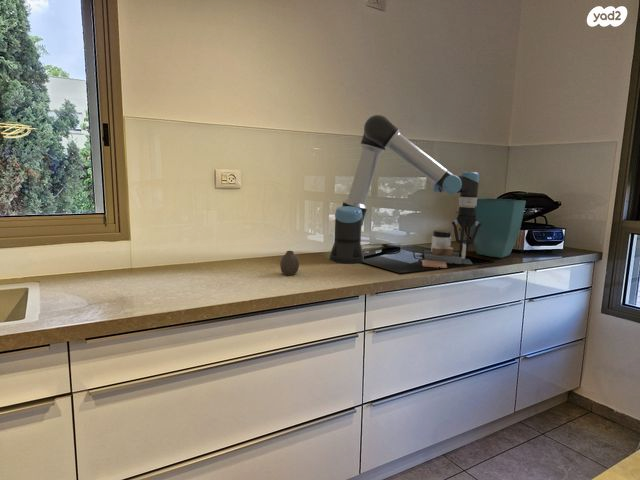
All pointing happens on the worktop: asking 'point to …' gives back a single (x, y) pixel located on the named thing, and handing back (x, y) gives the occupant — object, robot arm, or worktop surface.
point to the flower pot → (497, 226)
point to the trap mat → (466, 262)
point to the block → (442, 251)
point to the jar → (441, 238)
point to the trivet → (434, 264)
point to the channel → (443, 257)
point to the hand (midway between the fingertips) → (463, 258)
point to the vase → (289, 264)
